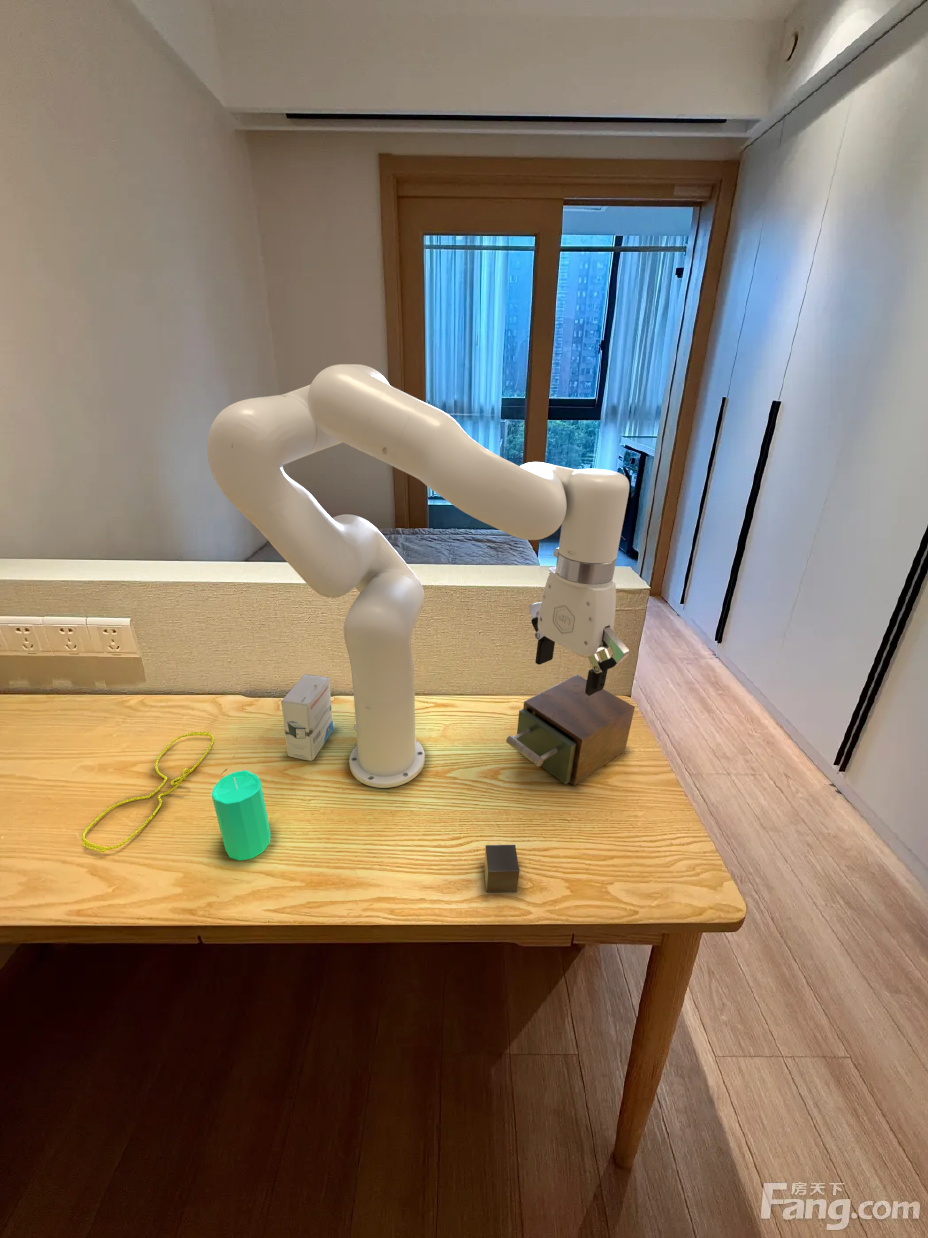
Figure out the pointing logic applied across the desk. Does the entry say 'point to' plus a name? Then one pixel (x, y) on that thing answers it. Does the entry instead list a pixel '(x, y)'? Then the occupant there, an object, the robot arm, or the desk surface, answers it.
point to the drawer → (545, 745)
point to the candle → (242, 815)
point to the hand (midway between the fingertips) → (567, 676)
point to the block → (501, 868)
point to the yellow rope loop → (148, 796)
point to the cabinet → (586, 722)
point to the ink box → (307, 716)
